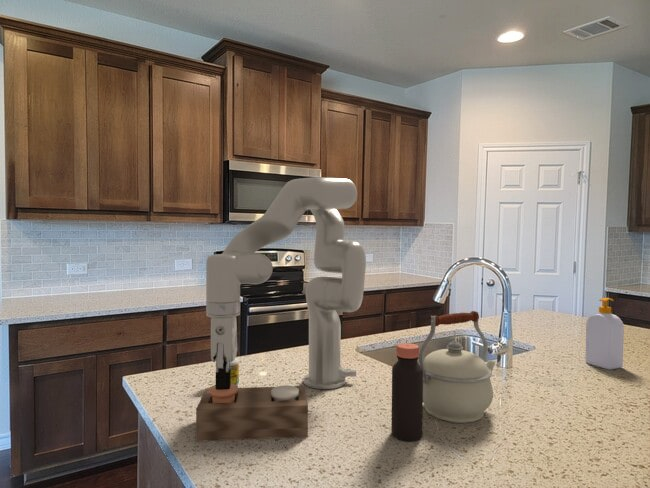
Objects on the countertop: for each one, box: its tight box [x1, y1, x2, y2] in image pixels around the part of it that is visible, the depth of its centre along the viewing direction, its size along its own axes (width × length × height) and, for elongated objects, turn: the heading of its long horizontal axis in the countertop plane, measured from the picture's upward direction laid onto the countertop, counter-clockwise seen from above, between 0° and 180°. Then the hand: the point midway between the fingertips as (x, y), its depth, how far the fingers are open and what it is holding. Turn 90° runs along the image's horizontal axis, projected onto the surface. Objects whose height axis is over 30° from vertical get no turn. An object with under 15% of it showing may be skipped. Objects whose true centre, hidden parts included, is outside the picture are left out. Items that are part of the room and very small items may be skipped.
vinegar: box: [390, 342, 424, 442], centre depth 97 cm, size 7×7×20 cm
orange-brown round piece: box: [208, 384, 239, 403], centre depth 100 cm, size 6×6×6 cm
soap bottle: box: [584, 297, 625, 371], centre depth 149 cm, size 9×7×23 cm
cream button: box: [271, 385, 299, 401], centre depth 101 cm, size 6×6×6 cm
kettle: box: [418, 310, 496, 424], centre depth 110 cm, size 25×18×25 cm
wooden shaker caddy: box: [195, 385, 309, 442], centre depth 101 cm, size 24×12×7 cm, turn 96°
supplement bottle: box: [229, 355, 240, 386], centre depth 128 cm, size 5×5×10 cm
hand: (223, 388), depth 100 cm, fingers closed
